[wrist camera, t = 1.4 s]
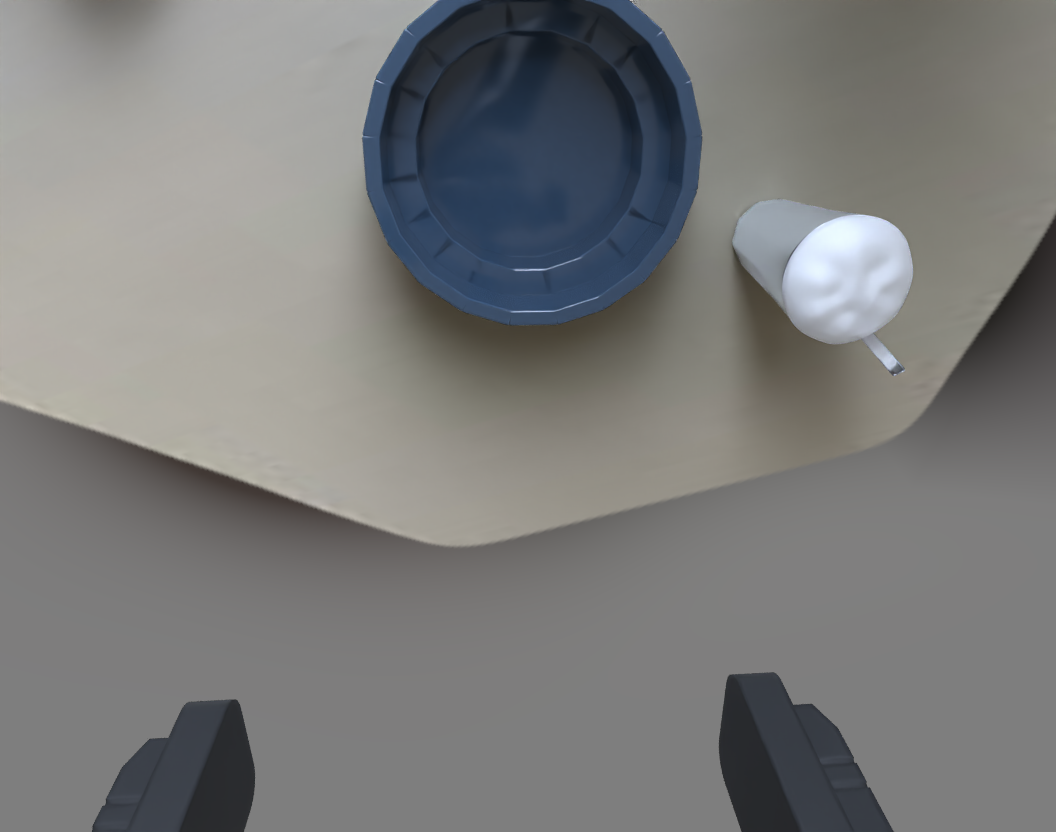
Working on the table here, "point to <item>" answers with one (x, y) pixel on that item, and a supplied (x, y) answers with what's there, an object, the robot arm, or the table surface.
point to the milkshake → (828, 270)
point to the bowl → (532, 154)
